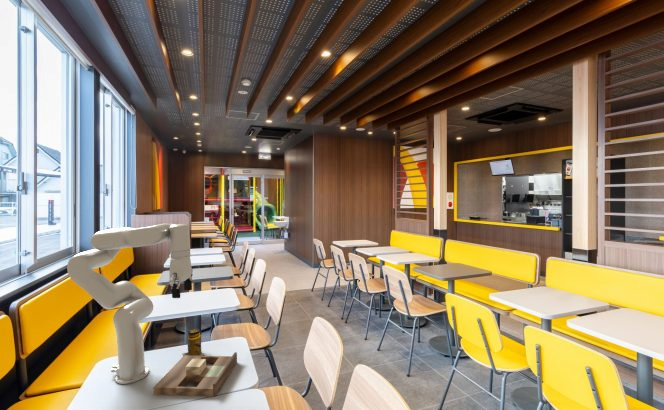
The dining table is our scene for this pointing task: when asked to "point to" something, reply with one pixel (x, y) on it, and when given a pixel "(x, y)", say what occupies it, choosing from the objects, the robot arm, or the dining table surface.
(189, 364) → the maple block
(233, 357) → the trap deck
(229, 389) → the dining table surface
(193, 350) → the condiment
